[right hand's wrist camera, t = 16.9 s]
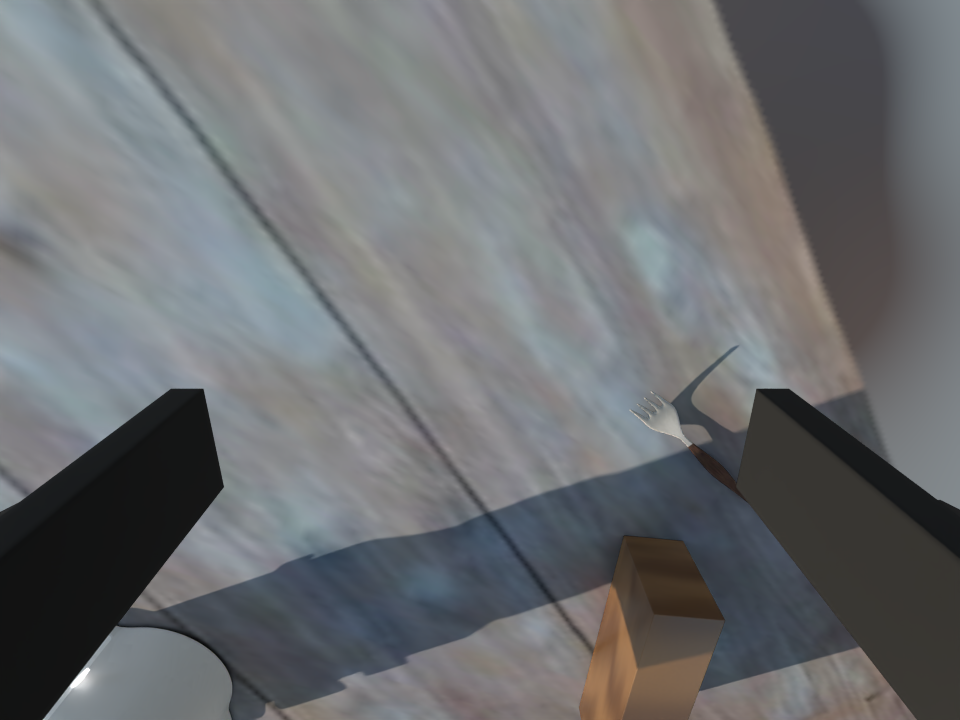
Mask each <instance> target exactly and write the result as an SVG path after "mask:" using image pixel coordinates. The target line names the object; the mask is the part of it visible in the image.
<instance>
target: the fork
mask: <svg viewBox="0 0 960 720" xmlns="http://www.w3.org/2000/svg"><path fill="white" fill-rule="evenodd" d="M651 393H653V394H654V395H655V396H656V398H657V399H658V400H659V401H661V403H662V406H658V405H657V404H655V403H653V402H652V401H650V400H648V399H647V398H645V397H644V399H645V400H646V401H647V402H649V403H650V404H651V405H652V406H653V407H654V408H655V410H656V411H655V412H652V411H650V410H648V409H647V408H645V407H643V406H641V405H640V404H638V403H637V405H638V406H639V407H641V408H642V409H643V410H644V411H645V412H646V413H647V414H648V415H649V417H648V418H646V417H644V416H642V415H640V414H638V413H637V412H635V411H633V410H631V409H630V411H631V412H633V413H634V414H635V415H636V416H637V417H638V418H640V419H641V420H642V421H643V422H644V423H645V424H646V425H647V426H648V427H650V428H651V429H653V430H656V431H659V432H662V433H665V434H669V435H672V436H675V437H677V438H679V439H681V440H682V441H683V442H684V443H685V444H686V445H687V447H688V448H689V449H690V450H691V451H692V453H693V454H694V455H695V456H696V458H697V459H698V460H699V461H700V463H701V464H702V465H703V466H704V467H705V468H706V470H707V471H708V472H709V473H710V474H711V475H713V476H714V477H715V478H716V479H717V480H719V481H720V482H721V483H723V484H724V485H726V486H727V487H728V488H730V489H731V490H732V491H734V492H735V493H736V494H738V495H739V496H740V497H741V498H743V499H744V500H745V501H746V502H747V500H746V499H745V498H744V497H743V495H742V494H741V493H740V491H739V490H738V489H737V488H736V485H737V483H736V482H735V480H734V479H733V478H732V477H731V475H730V474H729V473H728V472H727V471H726V470H725V468H724V467H723V466H722V465H721V464H720V463H718V462H717V461H716V460H715V459H714V458H712V457H711V456H710V455H708V454H707V453H706V452H704V451H703V450H701V449H700V448H699V447H697V446H696V445H695V444H693V443H692V442H691V441H689V440H688V439H687V438H686V437H685V436H684V434H683V432H682V429H681V425H680V421H679V417H678V413H677V411H676V409H675V407H674V406H673V405H672V404H671V403H669V402H668V401H666V400H665V399H663V398H662V397H660V396H659V395H657V394H656V393H654V392H652V391H651Z"/></svg>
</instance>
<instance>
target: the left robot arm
mask: <svg viewBox="0 0 960 720" xmlns="http://www.w3.org/2000/svg"><path fill="white" fill-rule="evenodd" d="M231 696H232V681H231V678H230V675H229V673H228V671H227V669H226V667H225V666H224V664H223V663H222V662H221V660H220V659H219V658H218V657H217V656H216V655H215V654H214V653H213V652H212V651H210V650H209V649H208V648H206V647H205V646H204V645H202V644H200V643H199V642H197V641H195V640H193V639H191V638H189V637H187V636H184V635H182V634H179V633H176V632H173V631H169V630H164V629H159V628H149V627H135V628H126V627H119V626H115V628H114V629H113V630H112V632H111V633H110V634H109V635H108V637H107V638H106V639H105V641H104V642H103V643H102V644H101V646H100V647H99V648H98V650H97V651H96V652H95V653H94V655H93V656H92V657H91V659H90V660H89V661H88V662H87V664H86V665H85V666H84V668H83V669H82V670H81V671H80V673H79V674H78V675H77V677H76V678H75V679H74V680H73V682H72V683H71V684H70V686H69V687H68V688H67V689H66V691H65V692H64V693H63V695H62V696H61V697H60V698H59V700H58V701H57V702H56V704H55V705H54V706H53V708H52V709H51V710H50V711H49V713H48V714H47V715H46V717H45V718H44V719H43V720H232V718H231V715H230V712H229V703H230V700H231Z"/></svg>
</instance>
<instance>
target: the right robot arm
mask: <svg viewBox="0 0 960 720" xmlns="http://www.w3.org/2000/svg"><path fill="white" fill-rule="evenodd" d="M223 488H224V485H223V480H222V475H221V471H220V466H219V461H218V456H217V451H216V447H215V442H214V437H213V432H212V428H211V423H210V418H209V413H208V408H207V404H206V399H205V394H204V389H170V390H169V391H168V392H166V393H165V394H164V395H162V396H161V397H159V398H158V399H157V400H155V401H154V402H153V403H151V404H150V405H149V406H147V407H146V408H145V409H143V410H142V411H141V412H139V413H138V414H137V415H135V416H134V417H133V418H131V419H130V420H129V421H127V422H126V423H125V424H123V425H122V426H121V427H119V428H118V429H117V430H115V431H114V432H113V433H111V434H110V435H109V436H107V437H106V438H105V439H103V440H102V441H101V442H99V443H98V444H97V445H95V446H94V447H93V448H91V449H90V450H89V451H87V452H86V453H85V454H83V455H82V456H81V457H79V458H78V459H77V460H75V461H74V462H73V463H71V464H70V465H69V466H67V467H66V468H65V469H63V470H62V471H61V472H59V473H58V474H57V475H55V476H54V477H53V478H51V479H50V480H49V481H47V482H46V483H45V484H43V485H42V486H41V487H39V488H38V489H37V490H35V491H34V492H33V493H31V494H30V495H29V496H27V497H26V498H25V499H23V500H22V501H21V502H19V503H17V504H15V505H13V506H11V507H9V508H7V509H5V510H3V511H1V512H0V720H43V719H44V718H45V717H46V715H47V714H48V713H49V711H50V710H51V709H52V708H53V706H54V705H55V704H56V702H57V701H58V700H59V698H60V697H61V696H62V695H63V693H64V692H65V691H66V689H67V688H68V687H69V686H70V684H71V683H72V682H73V680H74V679H75V678H76V677H77V675H78V674H79V673H80V671H81V670H82V669H83V668H84V666H85V665H86V664H87V662H88V661H89V660H90V659H91V657H92V656H93V655H94V653H95V652H96V651H97V650H98V648H99V647H100V646H101V644H102V643H103V642H104V641H105V639H106V638H107V637H108V635H109V634H110V633H111V632H112V630H113V629H114V628H115V626H116V625H117V624H118V623H119V621H120V620H121V619H122V617H123V616H124V615H125V614H126V612H127V611H128V610H129V608H130V607H131V606H132V605H133V603H134V602H135V601H136V599H137V598H138V597H139V596H140V594H141V593H142V592H143V590H144V589H145V588H146V587H147V585H148V584H149V583H150V581H151V580H152V579H153V578H154V576H155V575H156V574H157V572H158V571H159V570H160V569H161V567H162V566H163V565H164V563H165V562H166V561H167V560H168V558H169V557H170V556H171V554H172V553H173V552H174V551H175V549H176V548H177V547H178V545H179V544H180V543H181V542H182V540H183V539H184V538H185V536H186V535H187V534H188V533H189V531H190V530H191V529H192V527H193V526H194V525H195V524H196V522H197V521H198V520H199V518H200V517H201V516H202V515H203V513H204V512H205V511H206V509H207V508H208V507H209V506H210V504H211V503H212V502H213V500H214V499H215V498H216V497H217V495H218V494H219V493H220V491H221V490H222V489H223ZM736 488H737V489H738V490H739V491H740V493H741V494H742V495H743V497H744V498H745V499H746V500H747V502H748V503H749V504H750V506H751V507H752V508H753V509H754V511H755V512H756V513H757V515H758V516H759V517H760V518H761V520H762V521H763V522H764V524H765V525H766V526H767V527H768V529H769V530H770V531H771V533H772V534H773V535H774V536H775V538H776V539H777V540H778V542H779V543H780V544H781V545H782V547H783V548H784V549H785V551H786V552H787V553H788V554H789V556H790V557H791V558H792V560H793V561H794V562H795V563H796V565H797V566H798V567H799V569H800V570H801V571H802V572H803V574H804V575H805V576H806V578H807V579H808V580H809V581H810V583H811V584H812V585H813V587H814V588H815V589H816V590H817V592H818V593H819V594H820V596H821V597H822V598H823V599H824V601H825V602H826V603H827V605H828V606H829V607H830V608H831V610H832V611H833V612H834V614H835V615H836V616H837V617H838V619H839V620H840V621H841V623H842V624H843V625H844V626H845V628H846V629H847V630H848V632H849V633H850V634H851V635H852V637H853V638H854V639H855V641H856V642H857V643H858V644H859V646H860V647H861V648H862V650H863V651H864V652H865V653H866V655H867V656H868V657H869V659H870V660H871V661H872V662H873V664H874V665H875V666H876V668H877V669H878V670H879V671H880V673H881V674H882V675H883V677H884V678H885V679H886V680H887V682H888V683H889V684H890V686H891V687H892V688H893V689H894V691H895V692H896V693H897V695H898V696H899V697H900V698H901V700H902V701H903V702H904V704H905V705H906V706H907V708H908V709H909V710H910V711H911V713H912V714H913V715H914V717H915V718H916V719H917V720H960V510H959V509H957V508H955V507H953V506H951V505H949V504H947V503H945V502H943V501H941V500H937V499H935V498H934V497H933V496H931V495H930V494H929V493H927V492H926V491H925V490H923V489H922V488H921V487H919V486H918V485H917V484H915V483H914V482H913V481H911V480H910V479H909V478H907V477H906V476H905V475H903V474H902V473H901V472H899V471H898V470H897V469H895V468H894V467H893V466H891V465H890V464H889V463H887V462H886V461H885V460H883V459H882V458H881V457H879V456H878V455H877V454H875V453H874V452H873V451H871V450H870V449H869V448H867V447H866V446H865V445H863V444H862V443H861V442H859V441H858V440H857V439H855V438H854V437H853V436H851V435H850V434H849V433H847V432H846V431H845V430H843V429H842V428H841V427H839V426H838V425H837V424H835V423H834V422H833V421H831V420H830V419H829V418H827V417H826V416H825V415H823V414H822V413H821V412H819V411H818V410H817V409H815V408H814V407H813V406H811V405H810V404H809V403H807V402H806V401H805V400H803V399H802V398H801V397H799V396H798V395H796V394H795V393H794V392H792V391H791V390H790V389H756V394H755V399H754V404H753V408H752V413H751V418H750V423H749V428H748V432H747V437H746V442H745V447H744V451H743V456H742V461H741V466H740V471H739V475H738V480H737V485H736Z"/></svg>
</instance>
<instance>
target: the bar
mask: <svg viewBox="0 0 960 720" xmlns="http://www.w3.org/2000/svg"><path fill="white" fill-rule="evenodd" d="M724 622H725V619H724V617H723V616H722V614H721V612H720V610H719V608H718V606H717V604H716V602H715V600H714V599H713V597H712V595H711V593H710V591H709V589H708V587H707V585H706V583H705V582H704V580H703V578H702V576H701V574H700V572H699V570H698V568H697V566H696V565H695V563H694V561H693V559H692V557H691V555H690V553H689V551H688V549H687V548H686V546H685V544H684V542H683V541H677V540H666V539H655V538H644V537H633V536H624V537H623V541H622V545H621V549H620V553H619V557H618V560H617V564H616V568H615V572H614V576H613V580H612V583H611V587H610V591H609V595H608V599H607V603H606V606H605V610H604V614H603V618H602V622H601V626H600V629H599V633H598V637H597V641H596V645H595V649H594V652H593V656H592V660H591V664H590V668H589V672H588V675H587V679H586V683H585V687H584V691H583V695H582V698H581V702H580V706H579V709H580V715H581V720H688V719H689V716H690V713H691V711H692V708H693V705H694V703H695V700H696V697H697V694H698V692H699V689H700V686H701V684H702V681H703V678H704V676H705V673H706V670H707V668H708V665H709V662H710V660H711V657H712V654H713V652H714V649H715V646H716V644H717V641H718V638H719V636H720V633H721V630H722V628H723V625H724Z"/></svg>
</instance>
